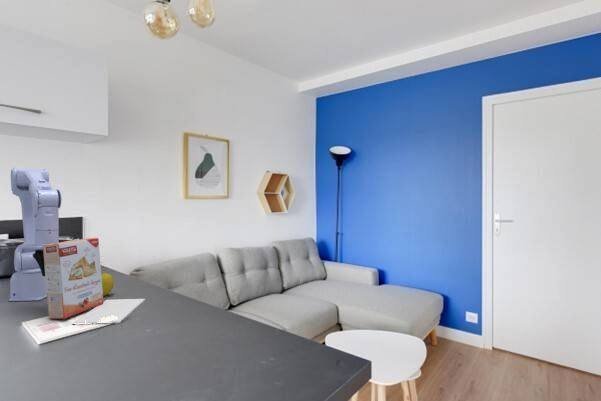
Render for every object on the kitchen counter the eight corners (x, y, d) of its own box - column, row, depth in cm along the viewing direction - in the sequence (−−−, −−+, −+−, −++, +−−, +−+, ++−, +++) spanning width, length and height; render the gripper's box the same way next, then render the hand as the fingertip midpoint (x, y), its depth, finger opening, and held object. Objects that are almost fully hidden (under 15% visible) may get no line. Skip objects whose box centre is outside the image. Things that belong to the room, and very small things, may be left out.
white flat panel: (72, 324, 89) (72, 323, 89) (106, 301, 109) (106, 299, 109) (119, 323, 91) (119, 321, 91) (145, 300, 111) (145, 298, 111)
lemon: (107, 298, 112) (107, 274, 112) (91, 298, 112) (91, 274, 112) (117, 293, 117) (117, 271, 117) (101, 293, 118) (101, 270, 117)
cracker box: (66, 319, 91) (58, 243, 91) (47, 320, 93) (40, 244, 93) (105, 303, 105) (99, 236, 105) (89, 303, 106) (83, 238, 106)
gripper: (10, 231, 95) (10, 279, 95) (65, 231, 97) (65, 278, 97) (27, 229, 102) (27, 273, 102) (78, 228, 104) (78, 272, 104)
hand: (47, 275), depth 100 cm, fingers closed
